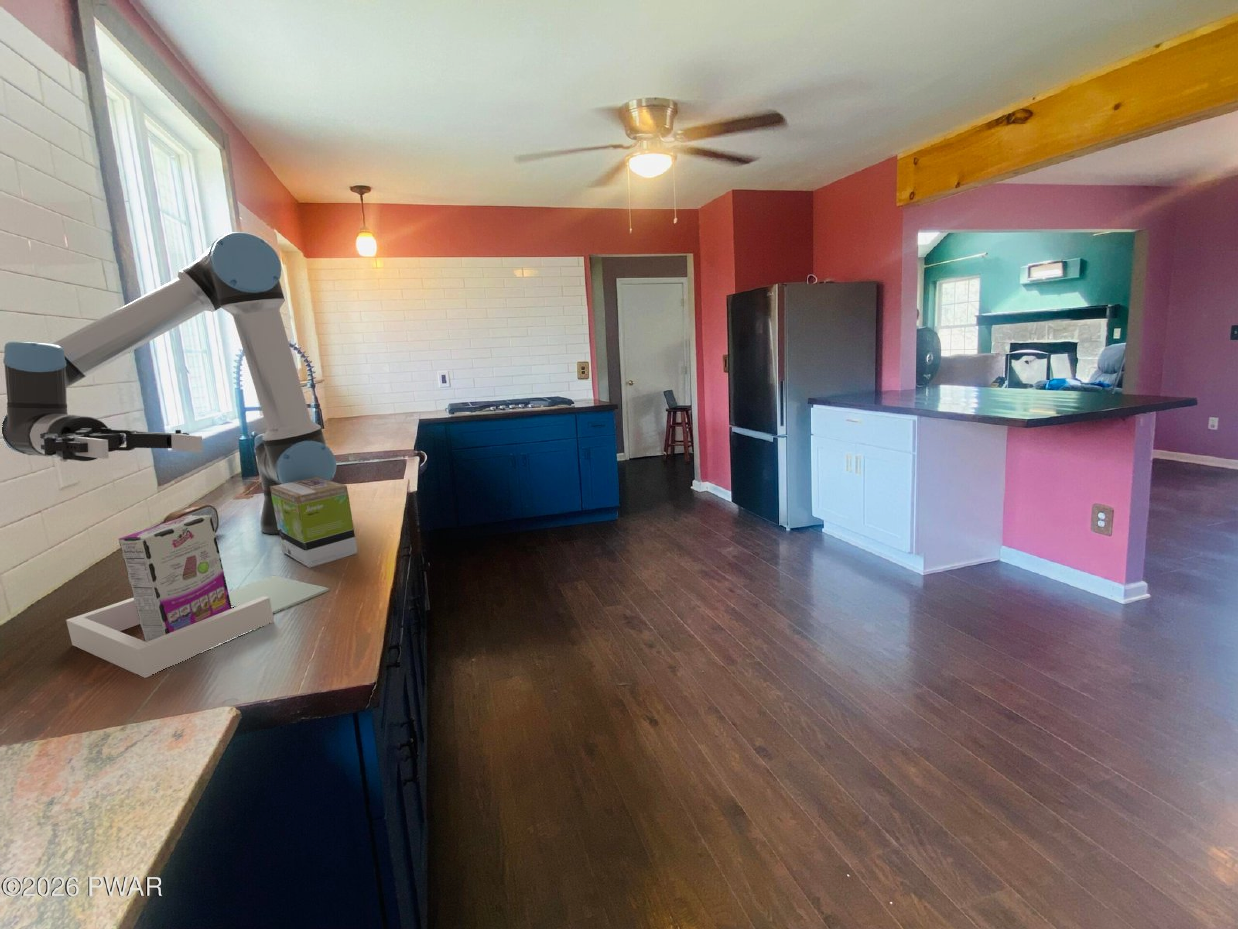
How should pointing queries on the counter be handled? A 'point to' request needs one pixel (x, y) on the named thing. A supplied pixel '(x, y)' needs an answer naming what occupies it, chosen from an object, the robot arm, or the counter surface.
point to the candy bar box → (175, 574)
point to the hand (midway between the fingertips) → (156, 446)
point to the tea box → (314, 520)
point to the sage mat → (276, 592)
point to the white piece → (147, 658)
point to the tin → (195, 513)
